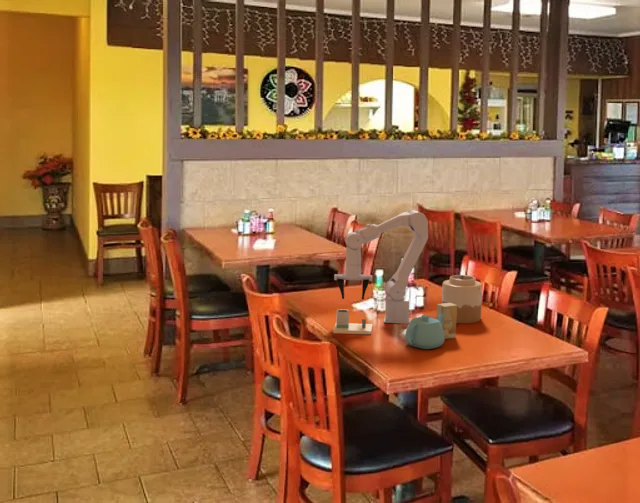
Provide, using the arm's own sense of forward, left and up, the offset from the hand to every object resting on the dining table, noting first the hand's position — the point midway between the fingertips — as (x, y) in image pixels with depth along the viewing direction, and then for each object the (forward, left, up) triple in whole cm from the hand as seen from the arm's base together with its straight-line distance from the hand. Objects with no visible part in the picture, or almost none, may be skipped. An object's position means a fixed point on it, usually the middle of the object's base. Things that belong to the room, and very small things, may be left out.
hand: (353, 298), depth 287 cm
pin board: (-1, +11, -9) cm, 15 cm away
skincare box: (-35, +16, -10) cm, 40 cm away
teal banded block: (+3, +11, -8) cm, 14 cm away
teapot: (-28, +26, -10) cm, 39 cm away
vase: (-42, -11, -10) cm, 44 cm away
